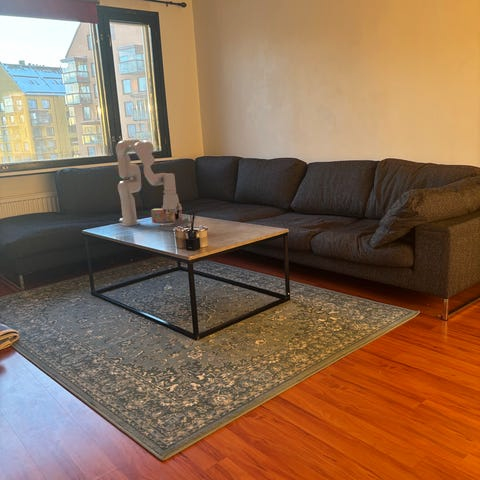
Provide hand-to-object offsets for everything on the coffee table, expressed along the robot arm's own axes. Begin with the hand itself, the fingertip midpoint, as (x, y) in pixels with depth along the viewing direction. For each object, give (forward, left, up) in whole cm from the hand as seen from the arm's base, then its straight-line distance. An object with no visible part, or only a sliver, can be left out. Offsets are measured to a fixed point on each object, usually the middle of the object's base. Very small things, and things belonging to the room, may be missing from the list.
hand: (172, 218), depth 327 cm
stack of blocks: (-18, +21, -7) cm, 28 cm away
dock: (0, 0, -6) cm, 6 cm away
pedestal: (0, 0, -2) cm, 2 cm away
